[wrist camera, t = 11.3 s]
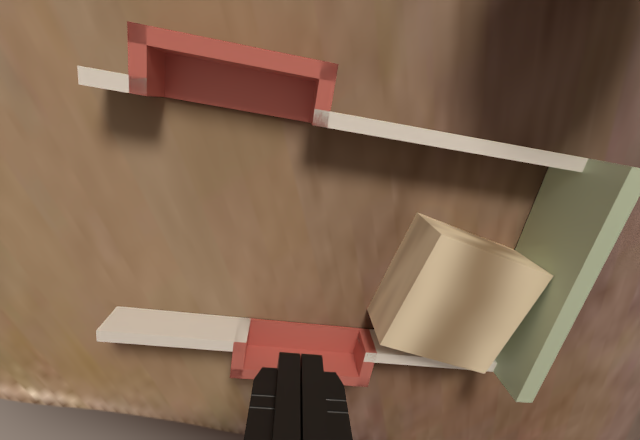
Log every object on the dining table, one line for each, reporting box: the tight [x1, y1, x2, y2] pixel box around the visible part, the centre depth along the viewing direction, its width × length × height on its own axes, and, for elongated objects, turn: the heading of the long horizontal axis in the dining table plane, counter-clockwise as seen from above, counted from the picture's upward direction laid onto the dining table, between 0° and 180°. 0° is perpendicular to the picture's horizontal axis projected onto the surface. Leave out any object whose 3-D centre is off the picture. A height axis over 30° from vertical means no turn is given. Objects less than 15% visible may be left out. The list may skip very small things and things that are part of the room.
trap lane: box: [77, 21, 640, 403], centre depth 19 cm, size 28×20×5 cm
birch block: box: [367, 213, 553, 374], centre depth 22 cm, size 8×8×4 cm
